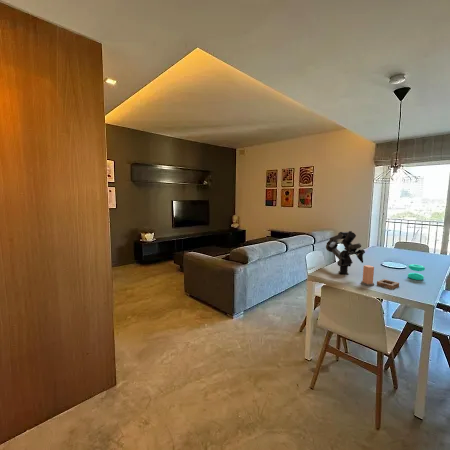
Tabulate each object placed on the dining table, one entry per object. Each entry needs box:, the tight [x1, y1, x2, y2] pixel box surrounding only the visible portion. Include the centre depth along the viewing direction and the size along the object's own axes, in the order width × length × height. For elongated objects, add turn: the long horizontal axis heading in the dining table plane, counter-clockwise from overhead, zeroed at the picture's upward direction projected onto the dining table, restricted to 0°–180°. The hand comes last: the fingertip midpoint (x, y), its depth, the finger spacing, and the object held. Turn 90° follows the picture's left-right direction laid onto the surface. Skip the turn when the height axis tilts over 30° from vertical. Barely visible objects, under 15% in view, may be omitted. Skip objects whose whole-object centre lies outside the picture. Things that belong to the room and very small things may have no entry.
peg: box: [361, 264, 375, 284], centre depth 183 cm, size 5×5×12 cm
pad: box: [360, 280, 375, 287], centre depth 184 cm, size 8×8×1 cm
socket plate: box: [376, 278, 400, 290], centre depth 181 cm, size 10×10×2 cm
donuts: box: [407, 263, 426, 281], centre depth 197 cm, size 10×10×10 cm
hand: (357, 262), depth 193 cm, fingers open, 9 cm apart
